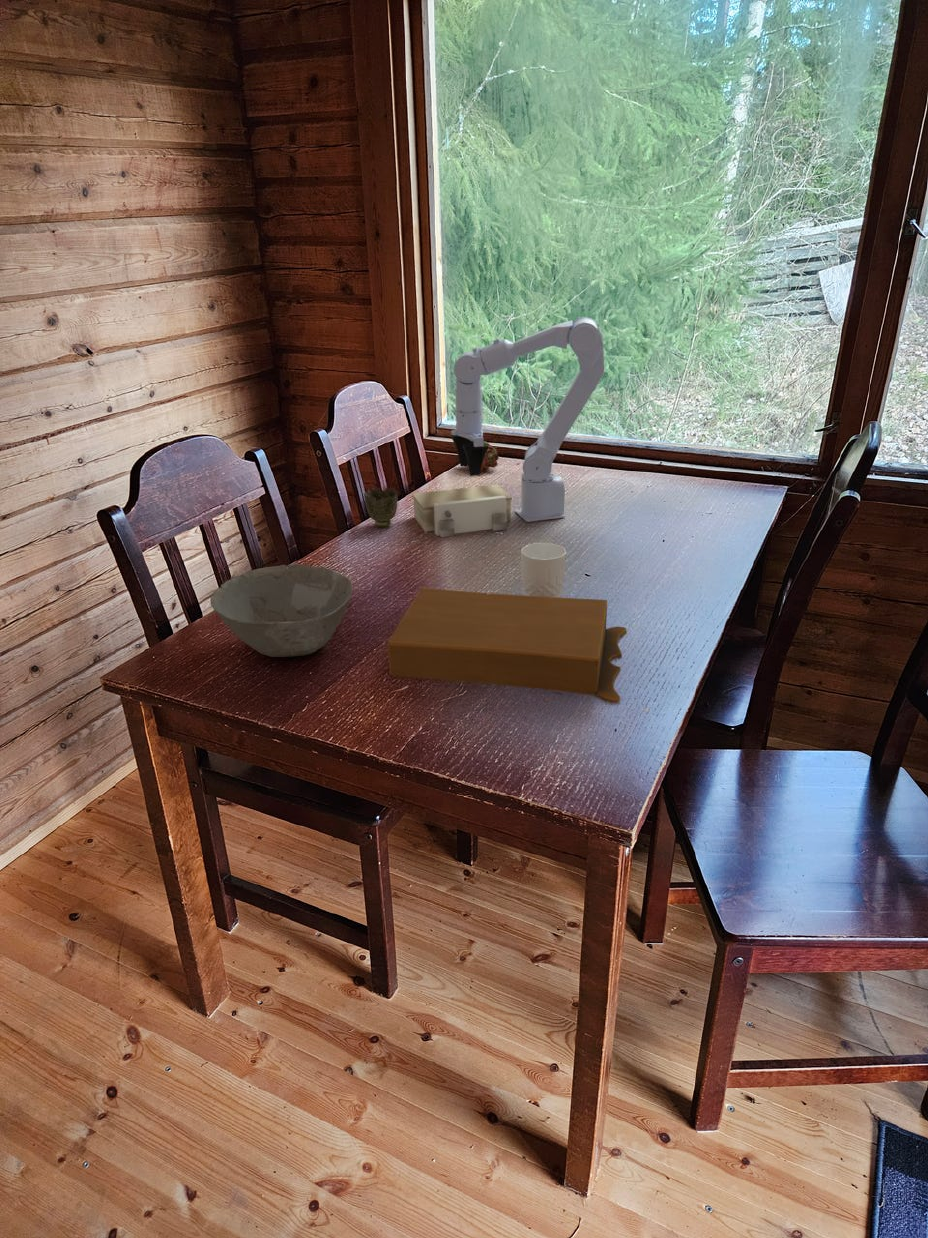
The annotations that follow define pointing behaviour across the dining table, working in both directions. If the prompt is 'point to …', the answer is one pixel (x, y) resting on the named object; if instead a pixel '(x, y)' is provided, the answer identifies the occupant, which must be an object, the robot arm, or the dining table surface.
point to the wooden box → (508, 641)
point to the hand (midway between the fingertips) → (469, 470)
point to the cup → (381, 505)
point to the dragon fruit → (489, 458)
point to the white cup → (543, 569)
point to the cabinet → (427, 500)
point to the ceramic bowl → (284, 607)
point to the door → (469, 513)
